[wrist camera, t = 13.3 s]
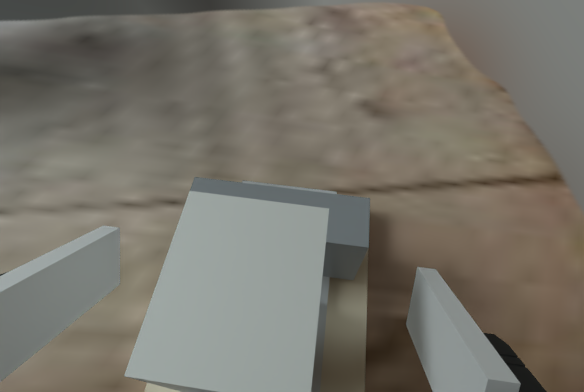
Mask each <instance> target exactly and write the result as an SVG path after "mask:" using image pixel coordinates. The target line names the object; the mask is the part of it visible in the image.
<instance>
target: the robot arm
mask: <svg viewBox="0 0 584 392" xmlns="http://www.w3.org/2000/svg"><path fill="white" fill-rule="evenodd" d="M118 285H120V228H117V227H110V226H102V227H100V228H97V229H95V230H93V231H91V232H89V233H87V234H85V235H83V236H81V237H79V238H77V239H75V240H73V241H71V242H69V243H67V244H65V245H63V246H61V247H59V248H57V249H55V250H52V251H50V252H48V253H46V254H44V255H42V256H40V257H38V258H36V259H34V260H32V261H30V262H28V263H26V264H24V265H22V266H20V267H18V268H16V269H14V270H12V271H10V272H7V273H3V274H1V275H0V382H1V381H2V380H3V379H5V378H6V377H7V376H8V375H9V374H11V373H12V372H13V371H14V370H16V369H17V368H18V367H19V366H20V365H22V364H23V363H24V362H25V361H27V360H28V359H29V358H30V357H32V356H33V355H34V354H35V353H36V352H38V351H39V350H40V349H41V348H43V347H44V346H45V345H46V344H47V343H49V342H50V341H51V340H52V339H54V338H55V337H56V336H57V335H58V334H60V333H61V332H62V331H63V330H65V329H66V328H67V327H68V326H69V325H71V324H72V323H73V322H74V321H76V320H77V319H78V318H79V317H80V316H82V315H83V314H84V313H85V312H87V311H88V310H89V309H90V308H91V307H93V306H94V305H95V304H96V303H98V302H99V301H100V300H101V299H103V298H104V297H105V296H106V295H107V294H109V293H110V292H111V291H112V290H114V289H115V288H116V287H117V286H118ZM406 326H407V329H408V331H409V334H410V336H411V339H412V341H413V344H414V346H415V349H416V351H417V354H418V356H419V359H420V361H421V364H422V366H423V369H424V371H425V374H426V376H427V379H428V381H429V384H430V386H431V389H432V391H433V392H546V391H545V389H544V388H543V387H542V386H541V384H540V383H539V382H538V381H537V380H536V378H535V377H534V376H533V375H532V373H531V372H530V371H529V370H528V369H527V368H525V365H524V364H523V362H522V361H521V360H520V359H519V358H517V355H516V354H515V353H514V351H513V350H512V349H511V348H510V346H509V345H508V344H506V343H505V342H504V341H502V340H501V339H500V338H498V337H497V336H496V335H494V334H487V333H483V332H482V331H481V330H480V328H479V327H478V326H477V324H476V323H475V321H474V320H473V319H472V317H471V316H470V315H469V313H468V312H467V311H466V309H465V308H464V307H463V305H462V304H461V303H460V301H459V300H458V299H457V297H456V296H455V295H454V293H453V292H452V291H451V289H450V288H449V286H448V285H447V284H446V282H445V281H444V280H443V278H442V277H441V276H440V274H439V273H438V272H437V270H436V269H430V268H423V267H417V271H416V276H415V281H414V286H413V291H412V296H411V301H410V307H409V312H408V317H407V322H406Z"/></svg>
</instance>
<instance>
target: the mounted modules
mask: <svg viewBox="0 0 584 392" xmlns="http://www.w3.org/2000/svg"><path fill="white" fill-rule="evenodd" d="M190 191H196V192H203V193H211V194H219V195H227V196H235V197H243V198H250V199H258V200H266V201H274V202H282V203H290V204H297V205H305V206H313V207H321V208H329V216H328V226H327V236H326V246H325V256H324V266H323V276H325V277H333V278H340V279H347V280H354V278H355V276H356V274H357V271H358V269H359V267H360V265H361V263H362V261H363V259H364V257H365V255H366V252H367V250H368V248H369V217H370V198H364V197H355V196H347V195H339V194H331V193H322V192H314V191H306V190H298V189H289V188H281V187H273V186H265V185H257V184H248V183H240V182H232V181H224V180H215V179H207V178H199V177H195V178H194V181H193V184H192V186H191V189H190Z"/></svg>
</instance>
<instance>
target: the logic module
mask: <svg viewBox="0 0 584 392" xmlns="http://www.w3.org/2000/svg"><path fill="white" fill-rule="evenodd" d="M328 216H329V208H321V207H313V206H305V205H297V204H290V203H282V202H274V201H266V200H258V199H250V198H243V197H235V196H227V195H219V194H211V193H203V192H196V191H190V192H189V195H188V197H187V200H186V203H185V206H184V209H183V212H182V214H181V217H180V220H179V223H178V226H177V228H176V231H175V234H174V237H173V240H172V243H171V245H170V248H169V251H168V254H167V257H166V259H165V262H164V265H163V268H162V271H161V274H160V276H159V279H158V282H157V285H156V288H155V290H154V293H153V296H152V299H151V302H150V305H149V307H148V310H147V313H146V316H145V319H144V321H143V324H142V327H141V330H140V333H139V336H138V338H137V341H136V344H135V347H134V350H133V352H132V355H131V358H130V361H129V364H128V367H127V369H126V372H125V375H124V376H125V377H129V378H133V379H136V380H140V381H144V382H147V383H151V384H155V385H158V386H162V387H166V388H169V389H173V390H177V391H180V392H311V387H312V377H313V367H314V357H315V347H316V337H317V326H318V316H319V306H320V296H321V286H322V276H323V266H324V256H325V246H326V236H327V226H328Z"/></svg>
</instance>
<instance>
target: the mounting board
mask: <svg viewBox="0 0 584 392" xmlns="http://www.w3.org/2000/svg"><path fill="white" fill-rule="evenodd" d="M242 183H248V184H257V185H265V186H273V187H281V188H289V189H298V190H306V191H314V192H322V193H331V194H337V192H334V191H326V190H318V189H309V188H301V187H293V186H285V185H276V184H268V183H260V182H252V181H242ZM367 283H368V250H367V252H366V255H365V257H364V259H363V261H362V263H361V265H360V267H359V269H358V271H357V274H356V276H355V278H354V280H347V279H340V278H333V277H325V276H322V286H321V296H320V306H319V316H318V326H317V337H316V347H315V357H314V367H313V377H312V387H311V392H365V366H366V325H367ZM144 392H180V391H177V390H173V389H169V388H166V387H162V386H158V385H155V384H151V383H147V385H146V388H145V391H144Z"/></svg>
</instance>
